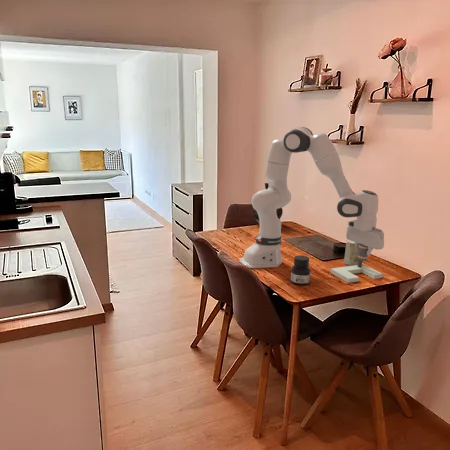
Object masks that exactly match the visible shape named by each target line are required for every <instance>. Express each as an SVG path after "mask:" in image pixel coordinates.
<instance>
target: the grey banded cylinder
mask: <svg viewBox="0 0 450 450" xmlns="http://www.w3.org/2000/svg"><path fill="white" fill-rule="evenodd" d="M366 251H368V246H365V245H363V244H360V243H359V252H358V260H361V261H362V262H366V261H368V258H369V256H368V255H366Z"/></svg>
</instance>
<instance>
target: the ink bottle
mask: <svg viewBox="0 0 450 450" xmlns="http://www.w3.org/2000/svg"><path fill="white" fill-rule="evenodd" d="M293 260H294V261H293V266H291V270H290V282H291V283H292V284H294V285H296V286H297V285H298V286H308V285H309V284H310V283H311V274H312V273H311V272H312V269H311V268H310V267H309V265H310V257H309V256H307V255H301V254H300V255H295V256H294V259H293Z"/></svg>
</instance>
